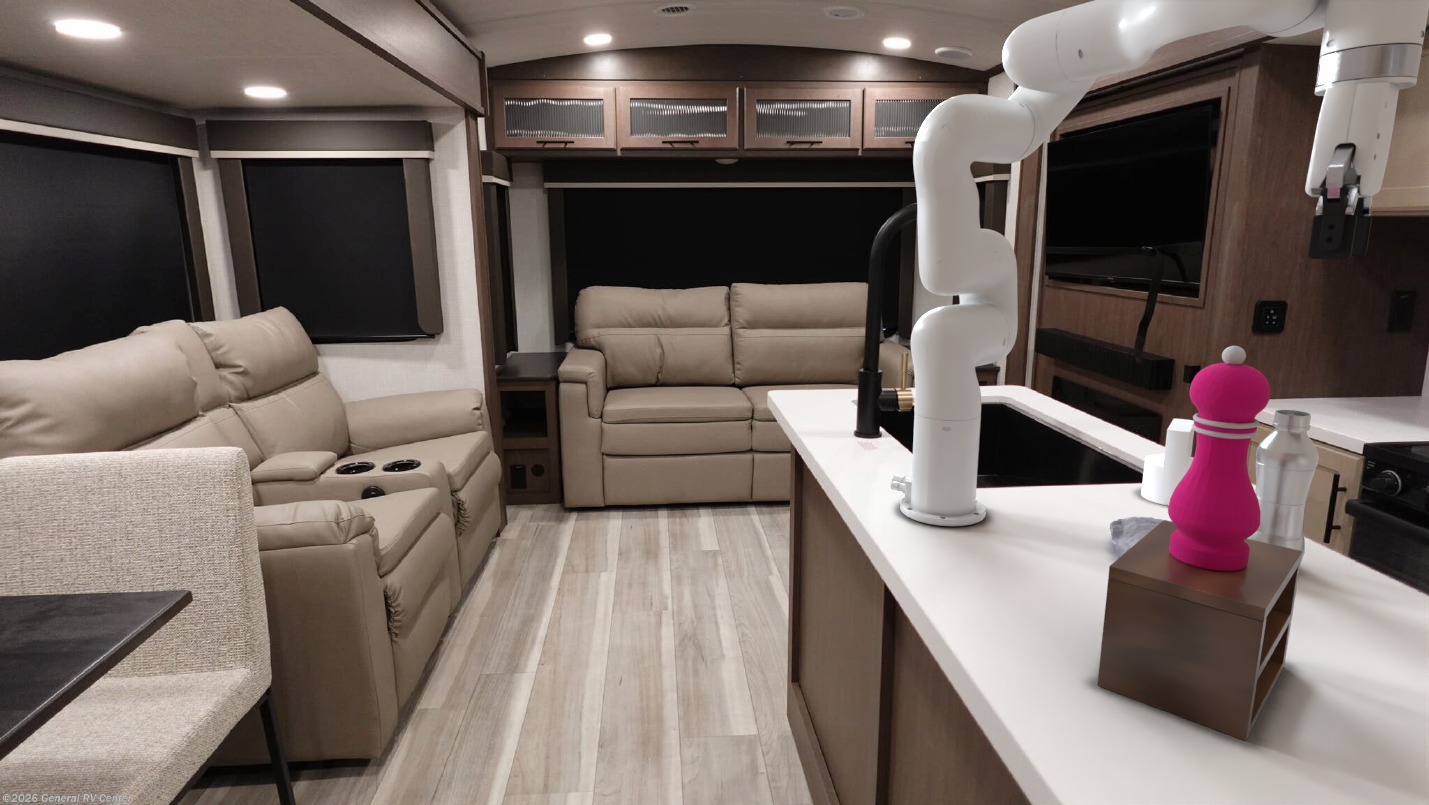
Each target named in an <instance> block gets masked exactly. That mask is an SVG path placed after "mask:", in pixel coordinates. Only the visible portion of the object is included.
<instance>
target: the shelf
mask: <svg viewBox="0 0 1429 805" xmlns="http://www.w3.org/2000/svg"><path fill="white" fill-rule="evenodd" d="M1162 520H1163V521H1162V522H1161V523H1159V524H1158V525H1157V526H1156V527H1155V528H1154V529H1152V530H1151V531H1150V532H1149V533H1148V534H1147V535H1145V536H1144V537H1143V538H1142V539H1141V540H1140V541H1138V542H1137V543H1136V544H1135V545H1134V546H1133V547H1131V548H1130V549H1129V550H1128V551H1127V552H1126V553H1124V554H1123V555H1122V556H1121V557H1120V558H1119V557H1118V558H1117V559H1116V560H1115V561H1114V562H1112V563H1111V564H1110V565H1109V566H1108V576H1107V577H1108V578H1107V585H1106V586H1107V588H1106V597H1105V607H1104V617H1103V626H1102V636H1101V644H1100V655H1099V666H1098V673H1097V674H1098V675H1097V683H1096V684H1097V686H1099V687H1101V688H1104V689H1107V690H1109V691H1111V692H1115V693H1117V694H1119V695H1122V696H1125V697H1128V698H1131V699H1133V700H1136V701H1138V702H1141V703H1144V704H1146V705H1148V706H1151V707H1155V708H1157V709H1160V710H1162V711H1165V712H1168V713H1170V714H1173V715H1175V716H1178V717H1180V718H1183V719H1186V720H1189V721H1191V722H1194V723H1196V724H1199V725H1202V726H1205V727H1208V728H1210V729H1213V730H1215V731H1219V732H1221V733H1223V734H1226V735H1229V736H1231V737H1235V738H1237V739H1239V740H1243V741H1247V739H1248V737H1249V735H1250V733H1251V732H1252V730H1253V727H1254V726H1255V724H1256V721H1257V720H1258V718H1259V716H1260V714H1261V712H1262V710H1263V709H1264V706H1265V704H1266V702H1267V701H1268V698H1269V696H1270V695H1271V693H1272V691H1273V689H1274V687H1275V686H1276V683H1277V681H1278V679H1279V678H1280V675H1281V674H1282V671H1283V669H1284V668H1285V663H1286V657H1287V651H1288V644H1289V639H1290V633H1291V626H1292V619H1293V613H1294V608H1295V607H1294V606H1295V601H1296V594H1297V590H1298V589H1297V588H1298V583H1299V575H1300V570H1301V564H1302V561H1301V557H1302V551H1300V550H1295V549H1291V548H1286V547H1282V546H1277V545H1273V544H1269V543H1264V542H1260V541H1255V540H1251V539H1246V540H1244V541H1245V542H1246V543H1247V544H1248V545H1249V547H1250V551H1249V559H1248V564H1247V566H1246V567H1245V568H1244V569H1241V570H1237V571H1214V570H1208V569H1203V568H1199V567H1195V566H1192V565H1189V564H1186V563H1183V562H1181V561H1179V560H1178V559H1176V558H1175V557H1173V556H1172V555H1171V553H1170V552H1169V547H1170V538H1171V534H1172V533H1173V532H1174V531H1176V530H1178V529H1177V527H1176V526H1175V525H1174V523H1173V522H1170V521H1171V520H1167V519H1162ZM1166 520H1167V521H1166Z"/></svg>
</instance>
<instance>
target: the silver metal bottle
mask: <svg viewBox="0 0 1429 805" xmlns="http://www.w3.org/2000/svg"><path fill="white" fill-rule="evenodd" d="M1311 420H1312V414H1311V413H1309V412H1306V411H1303V410H1295V409H1277V410H1275V412H1274V416H1273V421H1272V427H1274V428H1273V430H1272V431H1271V432H1270V433H1269V434H1267V435H1266V436H1265V437H1264V439H1262V441H1260V443H1259V444H1258V446H1257V448H1256V450H1255V480H1256V481H1255V489H1254V491H1255V493H1256V496H1257V498H1258V501H1259V506H1260V511H1261V515H1260V526H1259V528H1258V530H1257V531H1256V532H1255V533H1254V534H1253V535H1252V536H1250V537H1249V538H1247V539H1251V540H1255V541H1260V542H1264V543H1269V544H1273V545H1277V546H1282V547H1286V548H1291V549H1295V550H1300V551H1302V557H1301V562H1302V561H1303V558H1304V556H1305V553H1306V552H1305V551H1306V550H1305V548H1306V547H1305V546H1306V545H1305V543H1306V542H1305V535H1304V530H1305V529H1304V528H1305V514H1306V513H1305V511H1306V506H1307V500H1308V497H1309V492H1310V488H1311V486H1312V482H1313V479H1314V476H1315V473H1316V470H1317V467H1318V465H1319V464H1318V463H1319V460H1320V457H1319V451H1318V449H1317V447H1316V446H1315V444H1314V442H1313V440H1312V439H1311V438H1310V436H1309V435H1308V433H1307V432H1308V431H1310V430H1311Z"/></svg>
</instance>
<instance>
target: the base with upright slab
mask: <svg viewBox="0 0 1429 805" xmlns="http://www.w3.org/2000/svg"><path fill="white" fill-rule="evenodd" d="M1194 421H1195V420H1194V419H1193V420H1192V419H1186V418H1185V419H1184V418H1172V421H1171V422H1170V423H1169V426H1168V427H1167V429H1166V436H1165V445H1164V453H1154V454H1149V455H1146V456H1145V457H1144V465H1143V474H1142V483H1141V490H1140V491H1141V492H1140V495H1141V496H1142V497H1143V498H1144V499H1146V500H1147V501H1149V502H1152V503H1156V504H1160V505H1162V506H1169V502H1170V498H1171V496H1172V494H1173V492H1174V490H1175V488H1176V486H1177V485H1178V484H1179V482H1180V481H1181V480H1182V478H1183V477H1184V475H1185V474H1186V473H1187V471H1188V470H1189V468H1190V466H1191V464H1192V461H1193V459H1194V456H1192V453H1193V452H1192V451H1193V442H1194V434H1195V431H1194V430H1193V429H1192V425H1193V424H1194Z"/></svg>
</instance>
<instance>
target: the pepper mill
mask: <svg viewBox="0 0 1429 805" xmlns="http://www.w3.org/2000/svg"><path fill="white" fill-rule="evenodd" d="M1221 353H1222V354H1221V359H1222V361H1223V362H1219V363H1214V364H1210V365H1207V366H1205V367H1204V368H1202V369H1200V370H1199V371H1198V372H1197V373H1196V374H1195V375H1194V378H1193V379H1192V381H1191V384H1190V388H1189V398H1190V401H1191V403H1192V404H1193V405H1194V407H1195V408H1196V410H1197V413H1196V412H1195V414H1193V415H1192V419H1193V421H1194V424H1193V425H1192V429H1193V430H1194V432H1196V446H1195V452H1194V456H1193V458H1194V459H1193V461H1192V464H1191V466H1190V468H1189V470H1188V471H1187V473H1186V474H1185V475H1184V477H1183V478H1182V480H1181V481H1180V482H1179V484H1178V485H1177V486H1176V488H1175V490H1174V492H1173V494H1172V496H1171V498H1170V502H1169V506H1168V505H1167V506H1168V507H1167V514H1168V517H1169V519H1170V521H1172V522H1173V523H1174V525H1175V526H1176V527H1177V529H1178V530H1176V531H1174V532H1173V533H1172V534H1171V538H1170V547H1169V552H1170V553H1171V555H1172V556H1173V557H1175V558H1176V559H1178V560H1179V561H1181V562H1183V563H1186V564H1189V565H1192V566H1195V567H1199V568H1203V569H1208V570H1214V571H1237V570H1241V569H1244V568H1245V567H1246V566H1247V564H1248V559H1249V551H1250V547H1249V545H1248V544H1247V543H1246V542H1245V541H1244V540H1246V539H1247V538H1249V537H1250V536H1252V535H1253V534H1254V533H1255V532H1256V531H1257V530H1258V528H1259V526H1260V515H1261V511H1260V506H1259V501H1258V498H1257V496H1256V491H1255V488H1254V486H1253V484H1252V480H1251V478H1250V475H1249V469H1248V452H1249V448H1250V444H1251V440H1252V439H1253V438H1255V437H1257V436H1258V435H1259V432H1258V427H1259V425H1260V421H1259V420H1258V419H1257V418H1256V417H1257V415H1259V414H1260V413H1261V412H1262V411H1263V410H1265V409H1266V407H1267V405H1268V404H1269V401H1270V399H1271V386H1270V383H1269V381H1268V379H1267V377H1266V376H1265V374H1263V373H1262V372H1261V371H1259V370H1258V369H1256V368H1255V367H1253V366H1250V365H1247V364H1243V363H1244V362H1245V361H1246V358H1247V354H1246V351H1245V349H1244V348H1243V347H1241V346H1238V345H1230V346H1227V347H1226V348H1225V349H1224V350H1223V351H1222V352H1221Z"/></svg>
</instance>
